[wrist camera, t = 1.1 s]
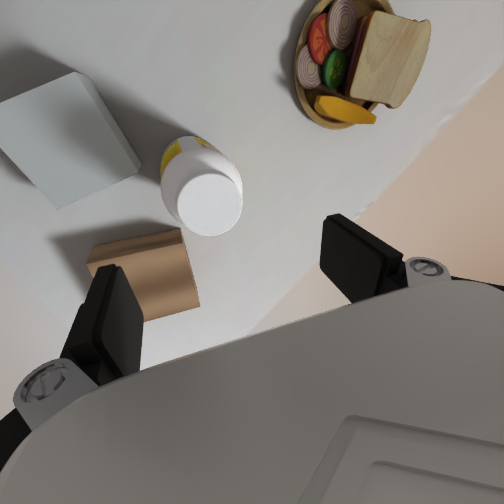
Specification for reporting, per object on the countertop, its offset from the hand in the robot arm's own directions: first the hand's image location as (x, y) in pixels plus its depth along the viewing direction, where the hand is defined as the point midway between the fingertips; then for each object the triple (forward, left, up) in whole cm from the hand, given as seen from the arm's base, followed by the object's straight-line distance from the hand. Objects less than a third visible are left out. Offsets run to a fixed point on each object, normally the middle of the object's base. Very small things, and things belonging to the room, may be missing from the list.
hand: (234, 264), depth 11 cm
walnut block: (+12, -8, -20) cm, 25 cm away
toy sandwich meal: (-8, +19, -21) cm, 29 cm away
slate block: (-4, -10, -20) cm, 23 cm away
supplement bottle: (0, 0, -20) cm, 20 cm away
